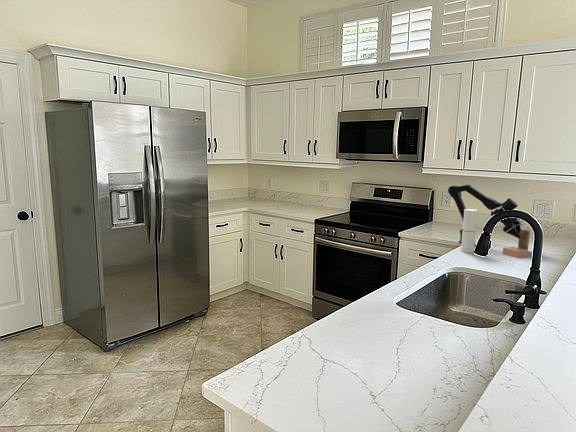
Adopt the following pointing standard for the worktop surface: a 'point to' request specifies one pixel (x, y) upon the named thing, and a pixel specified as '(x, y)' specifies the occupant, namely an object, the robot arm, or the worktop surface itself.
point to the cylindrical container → (469, 230)
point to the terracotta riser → (515, 252)
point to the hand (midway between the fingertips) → (522, 237)
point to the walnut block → (524, 239)
